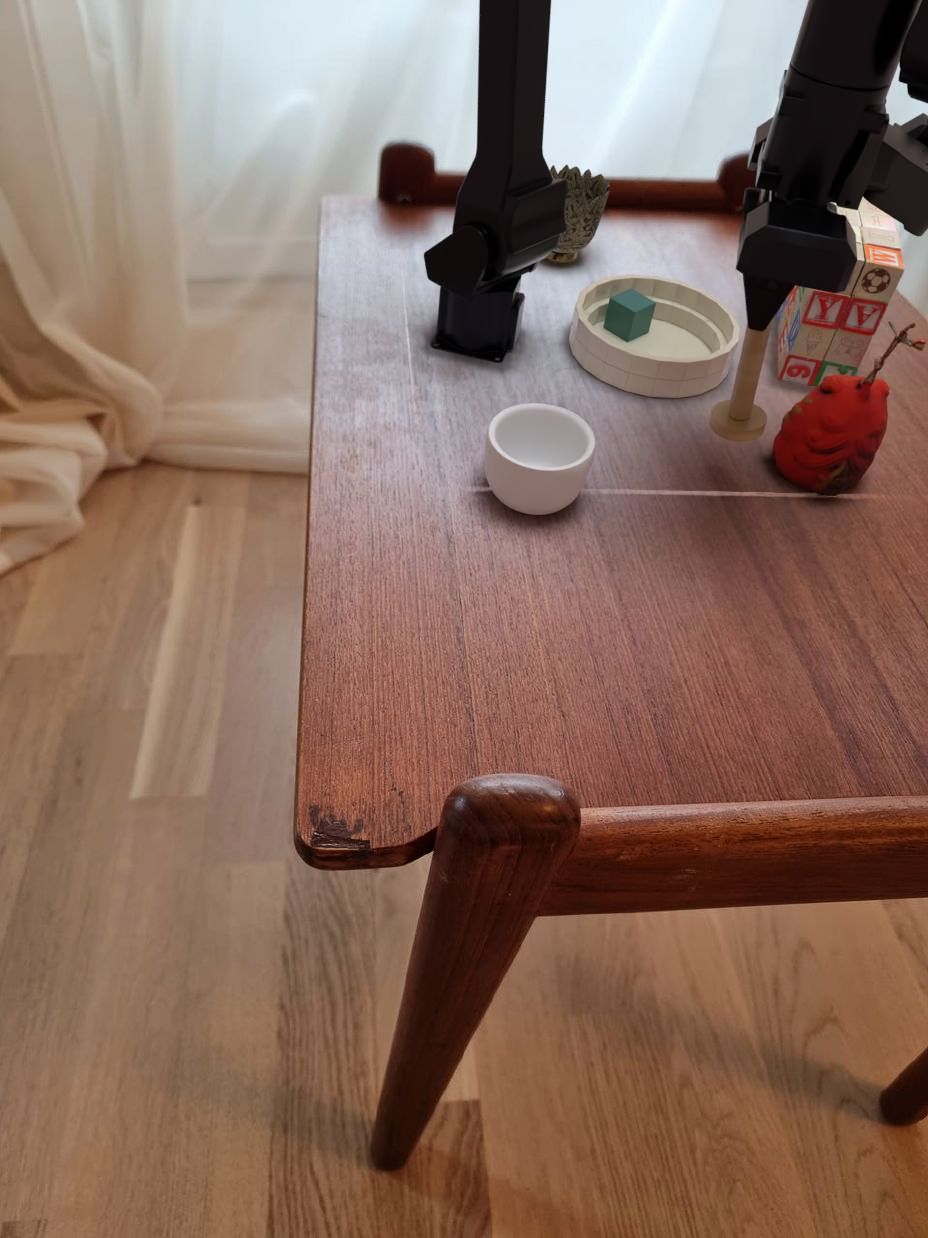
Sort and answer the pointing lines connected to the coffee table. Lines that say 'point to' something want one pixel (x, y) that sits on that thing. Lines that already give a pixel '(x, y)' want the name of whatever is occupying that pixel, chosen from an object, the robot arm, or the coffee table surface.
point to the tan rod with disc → (743, 394)
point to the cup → (579, 212)
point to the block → (629, 315)
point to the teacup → (538, 457)
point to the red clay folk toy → (836, 428)
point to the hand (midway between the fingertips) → (756, 322)
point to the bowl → (656, 338)
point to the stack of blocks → (841, 305)
